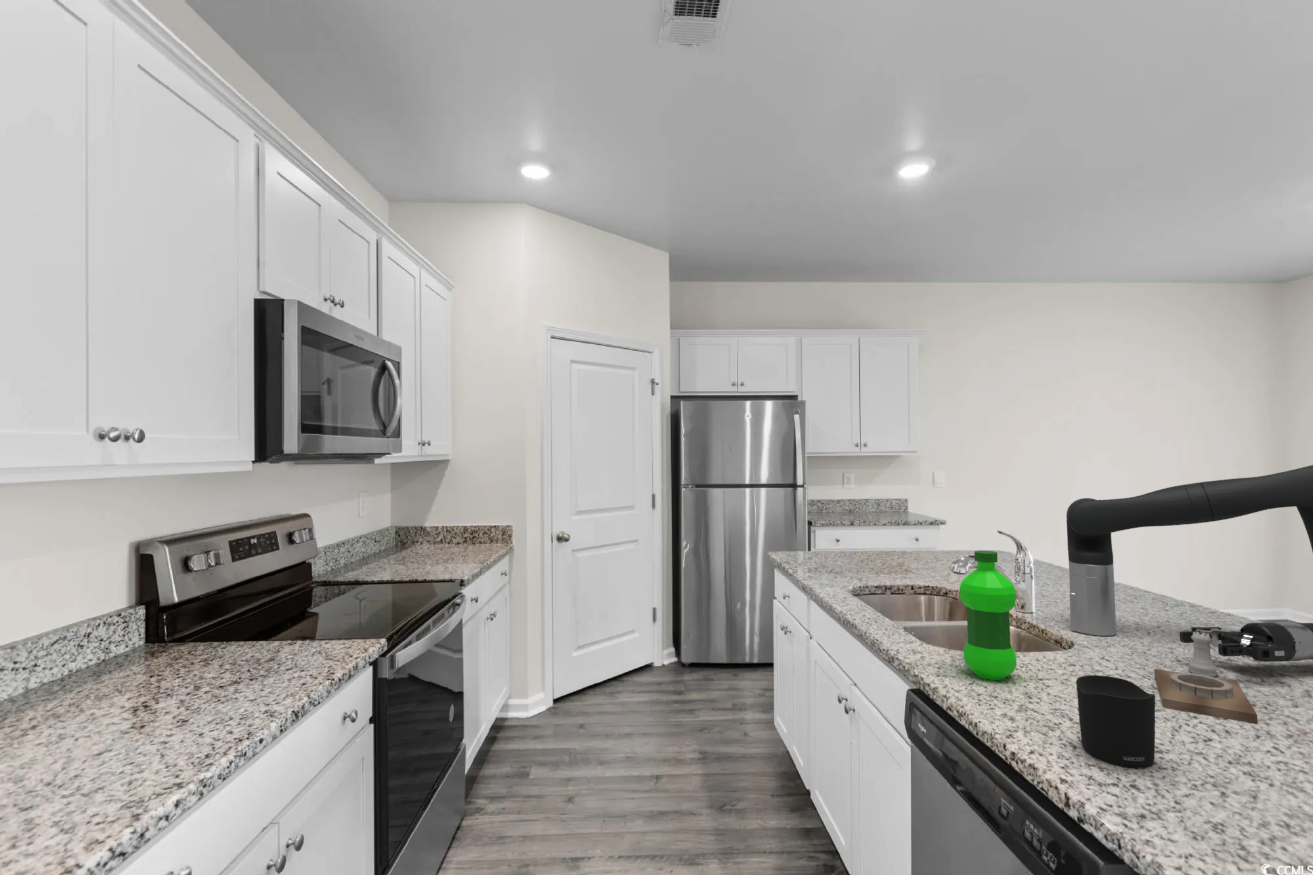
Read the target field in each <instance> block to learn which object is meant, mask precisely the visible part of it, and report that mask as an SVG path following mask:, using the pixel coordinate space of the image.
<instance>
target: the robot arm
mask: <svg viewBox="0 0 1313 875" xmlns="http://www.w3.org/2000/svg"><path fill="white" fill-rule="evenodd" d="M1292 507H1296V509H1297V511H1298V514H1299V516H1300V517H1301V521H1302V523H1303V526H1304V528H1305V531H1306V534H1307V536H1308V540H1309V543H1310V547H1311V551H1312V553H1313V464H1312V465H1307V466H1303V467H1300V468H1295V469H1290V470H1286V471H1281V472H1277V473H1276V472H1275V473H1271V474H1266V475H1260V476H1251V477H1250V476H1249V477H1237V478H1229V479H1227V478H1225V479H1218V480H1210V481H1201V482H1191V483H1187V484H1180V485H1179V484H1178V485H1174V486H1169V487H1165V488H1162V489H1157V490H1153V491H1151V492H1148V493H1144V494H1140V495H1135V496H1130V497H1125V498H1124V497H1121V498H1112V499H1108V498H1107V499H1095V498H1093V497H1092V498H1091V497H1084V498H1078V499H1076V500H1074V501H1073V502H1071V504H1069V506H1068V507H1067V510H1066V514H1065V515H1066V516H1065V517H1066V533H1067V534H1066V535H1067V539H1066V540H1067V555H1068V573H1069V574H1068V576H1069V577H1068V579H1069V611H1070V612H1069V613H1070V615H1069V616H1070V617H1069V618H1070V631H1071V632H1077V633H1081V634H1086V635H1092V636H1103V637H1107V636H1109V637H1110V636H1115V635H1117V617H1116V615H1117V614H1116V612H1117V611H1116V598H1115V597H1116V594H1115V572H1114V571H1115V569H1114V553H1113V552H1114V551H1113V543H1112V533H1115V532H1116V533H1117V532H1121V531H1126V530H1131V529H1137V528H1146V527H1147V528H1148V527H1169V526H1170V527H1172V526H1173V527H1174V526H1183V525H1195V524H1196V525H1197V524H1203V523H1211V522H1219V521H1223V520H1225V521H1226V520H1230V519H1234V518H1238V517H1243V516H1247V515H1251V514H1255V513H1259V512H1263V511H1267V510H1272V509H1279V508H1280V509H1281V508H1292ZM1193 632H1199V634H1201V635H1202V633H1205V635H1206V634H1209V635H1210V638H1211V639H1212V641H1211V642H1210V644H1209V645H1211V646H1212V647H1214V648H1217V650H1218V655H1219V656H1222V657H1242V658H1245V659H1246V658H1247V659H1249V658H1251V659H1253V660H1254V661H1256V662H1262V663H1263V662H1264V663H1269V662H1271V663H1272V662H1300V661H1305V660H1313V622H1296V623H1295V622H1288V621H1287V622H1286V621H1279V622H1278V621H1274V622H1273V621H1271V622H1270V621H1269V622H1248V623H1246V624H1244V625H1243V626H1242V627H1241V628H1240V629H1237V630H1236V629H1229V630H1226V629H1223V628H1222V627H1220V626H1191V628H1190V630H1188V631H1187V630H1186V631H1180V632H1179V641H1180V642H1181V643H1183V644H1194V641H1193V639H1192V638H1191V636H1192V635H1193ZM1218 641H1220V643H1219V642H1218Z"/></svg>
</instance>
